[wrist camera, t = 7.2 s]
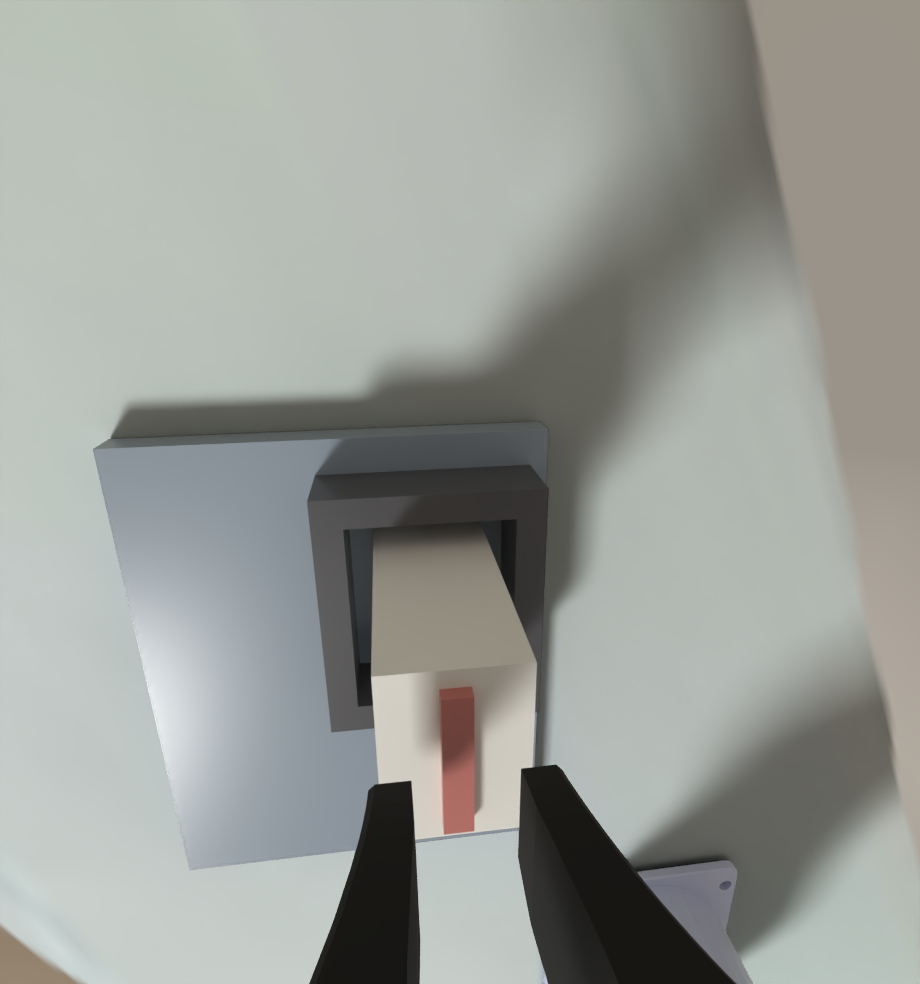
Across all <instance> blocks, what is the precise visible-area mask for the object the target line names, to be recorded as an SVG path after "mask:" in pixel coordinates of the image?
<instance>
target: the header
mask: <svg viewBox="0 0 920 984" xmlns="http://www.w3.org/2000/svg"><path fill="white" fill-rule="evenodd" d="M548 489H549V488H548V487H547V486H546V485H545V483H544V482H543V481H542V479H541V478H540V477H539V476H538V474H537V473H536V472H535V470H534V469H533V468H532V467H531V465H512V466H492V467H472V468H452V469H432V470H412V471H392V472H371V473H351V474H331V475H315V477H314V480H313V483H312V487H311V490H310V493H309V496H308V500H307V507H308V516H309V525H310V535H311V544H312V554H313V563H314V573H315V582H316V592H317V601H318V611H319V620H320V630H321V639H322V649H323V658H324V668H325V677H326V686H327V696H328V705H329V715H330V724H331V733H332V732H342V731H353V730H363V729H373V728H375V725H374V711H373V697H372V683H371V662H370V663H360V657H359V645H358V632H357V620H356V608H355V595H354V583H353V571H352V558H351V546H350V534H349V529H364V528H381V527H397V526H414V525H431V524H447V523H464V522H480V521H497V520H502V524H501V575H502V577H503V580H504V582H505V585H506V587H507V590H508V592H509V595H510V597H511V599H512V602H513V604H514V607H515V609H516V612H517V614H518V617H519V619H520V622H521V624H522V627H523V629H524V632H525V634H526V636H527V639H528V641H529V644H530V646H531V649H532V651H533V654H534V656H535V659H536V661H537V675H536V699H535V713H536V712H539V698H540V675H541V651H542V628H543V605H544V582H545V558H546V535H547V512H548Z"/></svg>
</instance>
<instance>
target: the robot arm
mask: <svg viewBox="0 0 920 984" xmlns="http://www.w3.org/2000/svg"><path fill="white" fill-rule="evenodd" d="M518 858H519V864H520V869H521V874H522V880H523V885H524V890H525V896H526V901H527V906H528V911H529V916H530V921H531V926H532V929H533V933H534V936H535V940H536V943H537V947H538V950H539V954H540V957H541V961H542V964H543V968H544V977H543V984H753V982H752V980H751V978H750V977H749V975H748V973H747V971H746V969H745V967H744V965H743V963H742V961H741V959H740V958H739V956H738V954H737V952H736V950H735V948H734V946H733V944H732V942H731V940H730V939H729V937H728V935H727V933H726V928H727V924H728V919H729V914H730V909H731V904H732V900H733V895H734V890H735V885H736V880H737V876H738V871H737V869H736V868H735V866H734V864H733V863H732V862H730V861H728V860H722V861H715V862H707V863H700V864H692V865H684V866H677V867H669V868H662V869H654V870H647V871H639V872H636V870H635V869H634V868H633V867H632V865H631V864H630V863H629V862H628V860H627V859H626V858H625V857H624V855H623V854H622V853H621V852H620V850H619V849H618V848H617V847H616V845H615V844H614V843H613V841H612V840H611V839H610V837H609V836H608V835H607V833H606V832H605V831H604V829H603V828H602V827H601V825H600V824H599V823H598V821H597V820H596V819H595V817H594V816H593V814H592V813H591V812H590V810H589V809H588V807H587V806H586V805H585V803H584V802H583V800H582V799H581V798H580V796H579V795H578V793H577V792H576V790H575V789H574V787H573V786H572V784H571V783H570V781H569V780H568V778H567V777H566V775H565V774H564V772H563V771H562V769H560V768H559V767H558V766H557V765H549V766H540V767H531V768H522V769H521V785H520V817H519V848H518ZM419 980H420V928H419V907H418V887H417V867H416V846H415V826H414V810H413V796H412V783H411V781H402V782H393V783H384V784H375V785H374V786H373V787H371V788H370V789H369V790H368V796H367V804H366V810H365V815H364V820H363V824H362V829H361V833H360V837H359V841H358V845H357V848H356V852H355V855H354V859H353V863H352V866H351V869H350V872H349V875H348V879H347V882H346V885H345V888H344V891H343V894H342V897H341V900H340V903H339V906H338V909H337V912H336V915H335V918H334V921H333V924H332V926H331V929H330V932H329V934H328V937H327V939H326V942H325V945H324V947H323V950H322V952H321V955H320V958H319V960H318V963H317V965H316V968H315V970H314V973H313V976H312V978H311V981H310V983H309V984H419Z"/></svg>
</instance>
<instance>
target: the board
mask: <svg viewBox="0 0 920 984" xmlns="http://www.w3.org/2000/svg"><path fill="white" fill-rule="evenodd" d="M548 431H549V430H548V429H547V428H546V427H545V426H544V425H543V424H542V423H541V422H540V421H534V422H510V423H486V424H462V425H437V426H413V427H389V428H365V429H341V430H316V431H292V432H268V433H244V434H219V435H195V436H171V437H147V438H122V439H108V440H107V441H105V442H104V443H102V444H100V445H99V446H97V447H96V448H94V449H93V452H94V456H95V461H96V465H97V469H98V474H99V478H100V482H101V487H102V491H103V495H104V500H105V504H106V508H107V513H108V517H109V521H110V526H111V530H112V535H113V539H114V543H115V548H116V552H117V556H118V561H119V565H120V569H121V574H122V578H123V582H124V587H125V591H126V595H127V600H128V604H129V608H130V613H131V617H132V621H133V626H134V630H135V634H136V639H137V643H138V647H139V652H140V656H141V660H142V665H143V669H144V674H145V678H146V682H147V687H148V691H149V695H150V700H151V704H152V708H153V713H154V717H155V721H156V726H157V730H158V734H159V739H160V743H161V747H162V752H163V756H164V760H165V765H166V769H167V773H168V778H169V782H170V786H171V791H172V795H173V799H174V804H175V808H176V813H177V817H178V821H179V826H180V830H181V834H182V839H183V843H184V847H185V852H186V856H187V860H188V865H189V869H190V870H195V869H203V868H211V867H220V866H228V865H236V864H244V863H253V862H261V861H269V860H278V859H286V858H294V857H302V856H311V855H319V854H327V853H335V852H344V851H352V850H356V848H357V845H358V841H359V837H360V833H361V829H362V824H363V820H364V815H365V810H366V804H367V796H368V790H369V789H370V788H371V787H373V786H374V785H375V784H379V781H378V767H377V753H376V739H375V728H373V729H363V730H353V731H342V732H332V733H331V724H330V715H329V705H328V696H327V686H326V677H325V668H324V658H323V649H322V639H321V630H320V620H319V611H318V601H317V592H316V582H315V573H314V563H313V554H312V544H311V535H310V525H309V516H308V507H307V500H308V496H309V493H310V490H311V487H312V483H313V480H314V477H315V475H331V474H351V473H371V472H392V471H412V470H432V469H452V468H472V467H492V466H512V465H531V467H532V468H533V469H534V470H535V472H536V473H537V474H538V476H539V477H540V478H541V479H542V481H543V482H544V483H545V485H546V479H547V455H548ZM480 523H481V525H482V528H483V530H484V533H485V535H486V538H487V540H488V543H489V545H490V548H491V550H492V553H493V555H494V558H495V560H496V562H497V565H498V567H499V570H500V572H501V524H502V520H497V521H480ZM349 534H350V546H351V558H352V571H353V583H354V595H355V608H356V620H357V632H358V645H359V657H360V663H370V662H371V650H372V588H373V528H364V529H349ZM536 720H537V712H536V713H535V722H534V745H533V767H535V744H536ZM518 830H519V827H518V828H510V829H501V830H493V831H484V832H476V833H468V834H459V835H451V836H442V837H434V838H425V839H417V840H415V843H418V842H427V841H435V840H443V839H451V838H460V837H468V836H476V835H485V834H493V833H501V832H509V831H518Z"/></svg>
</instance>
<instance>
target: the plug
mask: <svg viewBox="0 0 920 984" xmlns="http://www.w3.org/2000/svg"><path fill="white" fill-rule="evenodd" d="M536 675H537V661H536V659H535V656H534V654H533V651H532V649H531V646H530V644H529V641H528V639H527V636H526V634H525V632H524V629H523V627H522V624H521V622H520V619H519V617H518V614H517V612H516V609H515V607H514V604H513V602H512V599H511V597H510V595H509V592H508V590H507V587H506V585H505V582H504V580H503V577H502V575H501V572H500V570H499V567H498V565H497V562H496V560H495V558H494V555H493V553H492V550H491V548H490V545H489V543H488V540H487V538H486V535H485V533H484V530H483V528H482V525H481V523H480V522H464V523H447V524H431V525H414V526H397V527H381V528H373V588H372V650H371V683H372V697H373V711H374V725H375V739H376V753H377V767H378V781H379V784H384V783H393V782H402V781H411V783H412V796H413V810H414V826H415V840H417V839H425V838H434V837H442V836H451V835H459V834H468V833H476V832H484V831H493V830H501V829H510V828H518V827H519V817H520V785H521V769H522V768H531V767H533V745H534V722H535V699H536Z"/></svg>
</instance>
